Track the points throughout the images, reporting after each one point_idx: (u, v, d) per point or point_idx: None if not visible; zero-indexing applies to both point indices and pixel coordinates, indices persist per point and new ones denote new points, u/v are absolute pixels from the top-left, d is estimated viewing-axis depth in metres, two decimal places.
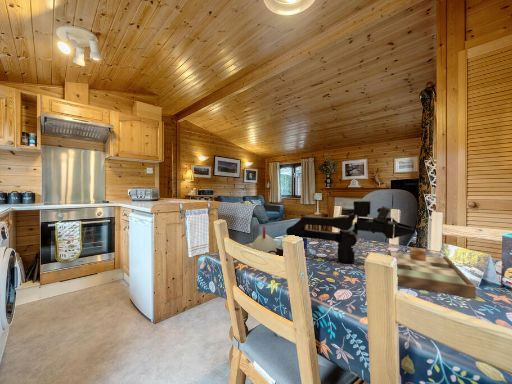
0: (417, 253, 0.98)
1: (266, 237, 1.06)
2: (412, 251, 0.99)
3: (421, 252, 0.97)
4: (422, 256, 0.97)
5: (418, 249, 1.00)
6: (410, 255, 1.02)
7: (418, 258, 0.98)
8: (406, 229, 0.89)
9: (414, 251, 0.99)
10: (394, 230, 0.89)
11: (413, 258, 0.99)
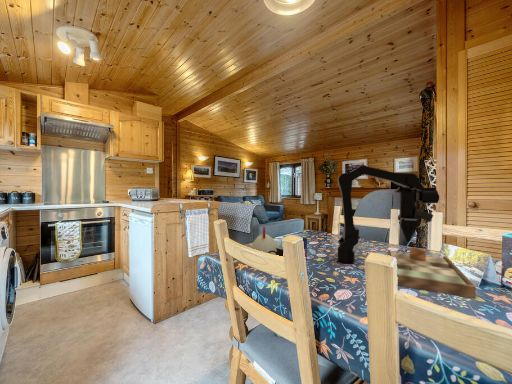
0: (417, 253, 0.98)
1: (266, 237, 1.06)
2: (412, 251, 0.99)
3: (421, 252, 0.97)
4: (422, 256, 0.97)
5: (418, 249, 1.00)
6: (410, 255, 1.02)
7: (418, 258, 0.98)
8: (410, 235, 0.95)
9: (414, 251, 0.99)
10: (409, 225, 0.93)
11: (413, 258, 0.99)
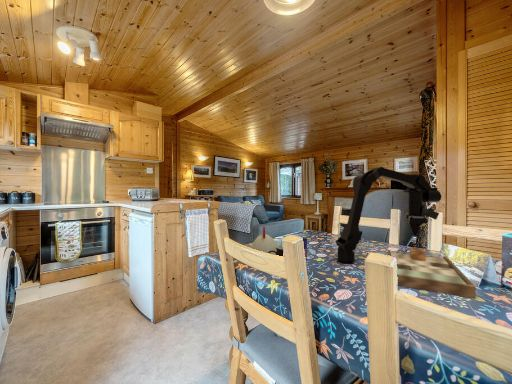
0: (417, 253, 0.98)
1: (266, 237, 1.06)
2: (412, 251, 0.99)
3: (421, 252, 0.97)
4: (422, 256, 0.97)
5: (418, 249, 1.00)
6: (410, 255, 1.02)
7: (418, 258, 0.98)
8: (417, 230, 1.06)
9: (414, 251, 0.99)
10: None
11: (413, 258, 0.99)
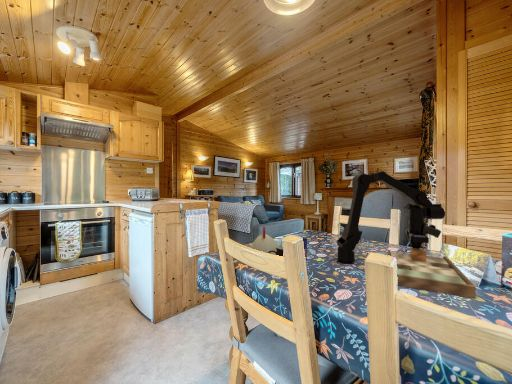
0: (417, 253, 0.97)
1: (266, 237, 1.06)
2: (412, 251, 0.98)
3: (421, 252, 0.97)
4: (422, 256, 0.97)
5: (418, 249, 1.00)
6: (410, 255, 1.01)
7: (418, 258, 0.97)
8: None
9: (414, 251, 0.98)
10: None
11: (413, 258, 0.98)
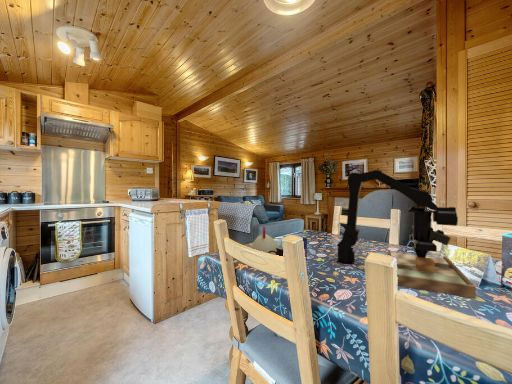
0: (425, 263, 0.85)
1: (266, 237, 1.06)
2: (419, 261, 0.85)
3: (429, 262, 0.84)
4: (430, 267, 0.84)
5: (426, 259, 0.87)
6: (416, 265, 0.88)
7: (426, 269, 0.84)
8: None
9: (421, 261, 0.85)
10: None
11: (420, 269, 0.85)
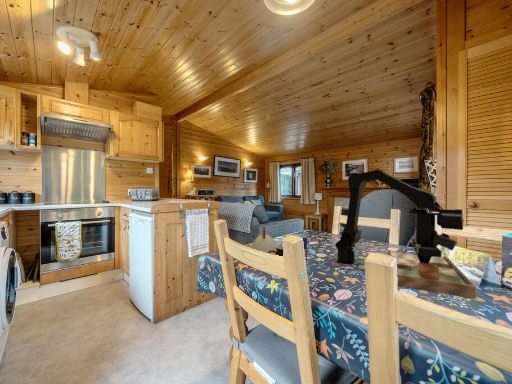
0: (428, 270, 0.78)
1: (266, 237, 1.06)
2: (422, 267, 0.79)
3: (433, 269, 0.77)
4: (435, 274, 0.77)
5: (429, 265, 0.80)
6: (419, 272, 0.81)
7: (430, 276, 0.78)
8: (427, 262, 0.83)
9: (424, 267, 0.78)
10: None
11: (423, 276, 0.79)
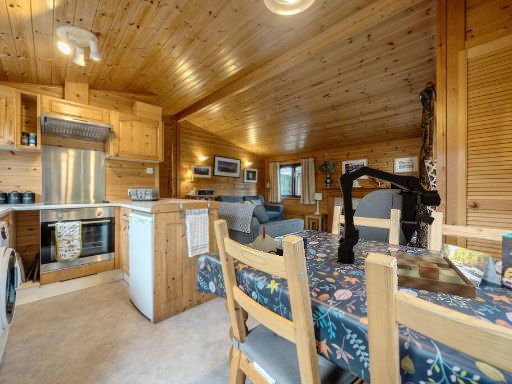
0: (428, 270, 0.78)
1: (266, 237, 1.06)
2: (422, 267, 0.79)
3: (433, 269, 0.77)
4: (435, 274, 0.77)
5: (429, 265, 0.80)
6: (419, 272, 0.81)
7: (430, 276, 0.78)
8: (410, 236, 0.97)
9: (424, 267, 0.78)
10: None
11: (423, 276, 0.79)
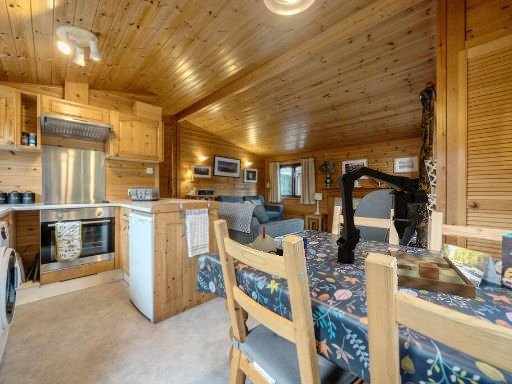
0: (428, 270, 0.78)
1: (266, 237, 1.06)
2: (422, 267, 0.79)
3: (433, 269, 0.77)
4: (435, 274, 0.77)
5: (429, 265, 0.80)
6: (419, 272, 0.81)
7: (430, 276, 0.78)
8: (402, 233, 1.03)
9: (424, 267, 0.78)
10: None
11: (423, 276, 0.79)
